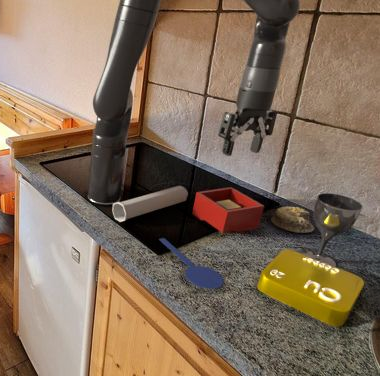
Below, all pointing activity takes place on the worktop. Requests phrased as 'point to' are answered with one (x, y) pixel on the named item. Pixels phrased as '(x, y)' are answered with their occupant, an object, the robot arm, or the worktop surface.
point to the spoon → (197, 271)
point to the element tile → (311, 286)
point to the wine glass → (333, 220)
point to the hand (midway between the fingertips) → (240, 153)
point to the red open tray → (228, 219)
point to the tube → (148, 203)
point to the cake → (292, 219)
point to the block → (228, 205)
